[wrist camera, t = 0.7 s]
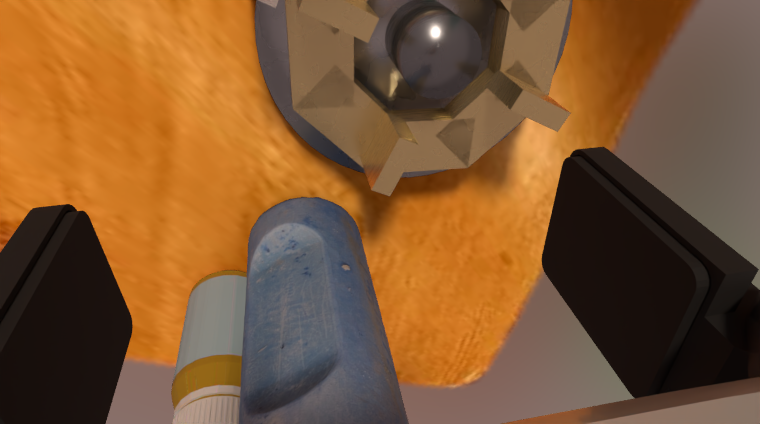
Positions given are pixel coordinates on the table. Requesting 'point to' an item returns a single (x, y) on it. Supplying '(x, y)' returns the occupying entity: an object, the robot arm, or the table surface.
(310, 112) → the wooden castle nut
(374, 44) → the hub
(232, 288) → the bottle
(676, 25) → the table surface
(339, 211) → the bottle
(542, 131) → the table surface
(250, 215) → the table surface
